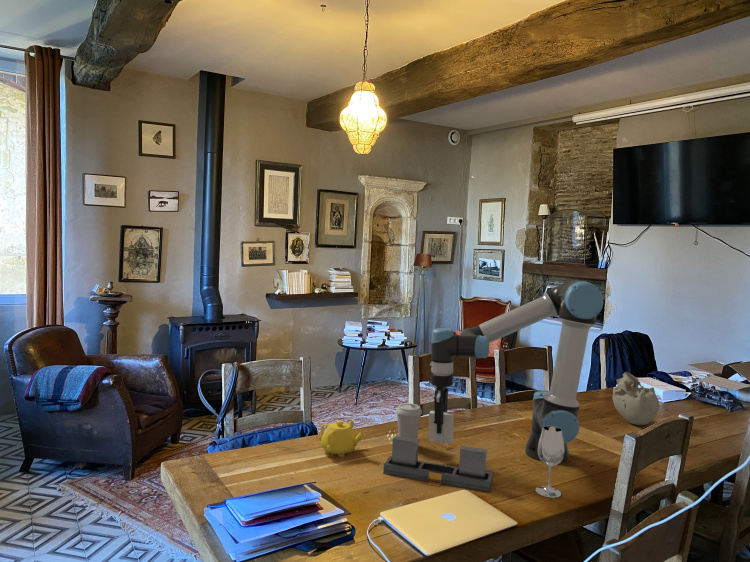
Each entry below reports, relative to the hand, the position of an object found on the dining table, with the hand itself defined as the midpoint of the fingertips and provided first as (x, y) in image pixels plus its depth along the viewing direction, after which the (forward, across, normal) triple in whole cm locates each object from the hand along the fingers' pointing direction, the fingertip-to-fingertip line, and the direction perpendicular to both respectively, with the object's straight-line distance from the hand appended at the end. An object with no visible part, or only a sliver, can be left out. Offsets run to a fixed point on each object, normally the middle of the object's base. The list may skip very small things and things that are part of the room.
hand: (440, 440), depth 193 cm
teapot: (+6, +7, -34) cm, 35 cm away
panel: (0, 0, 0) cm, 0 cm away
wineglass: (+8, +12, +36) cm, 39 cm away
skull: (+10, -77, +71) cm, 105 cm away
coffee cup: (+7, -8, -14) cm, 17 cm away
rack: (+7, +16, +2) cm, 18 cm away
